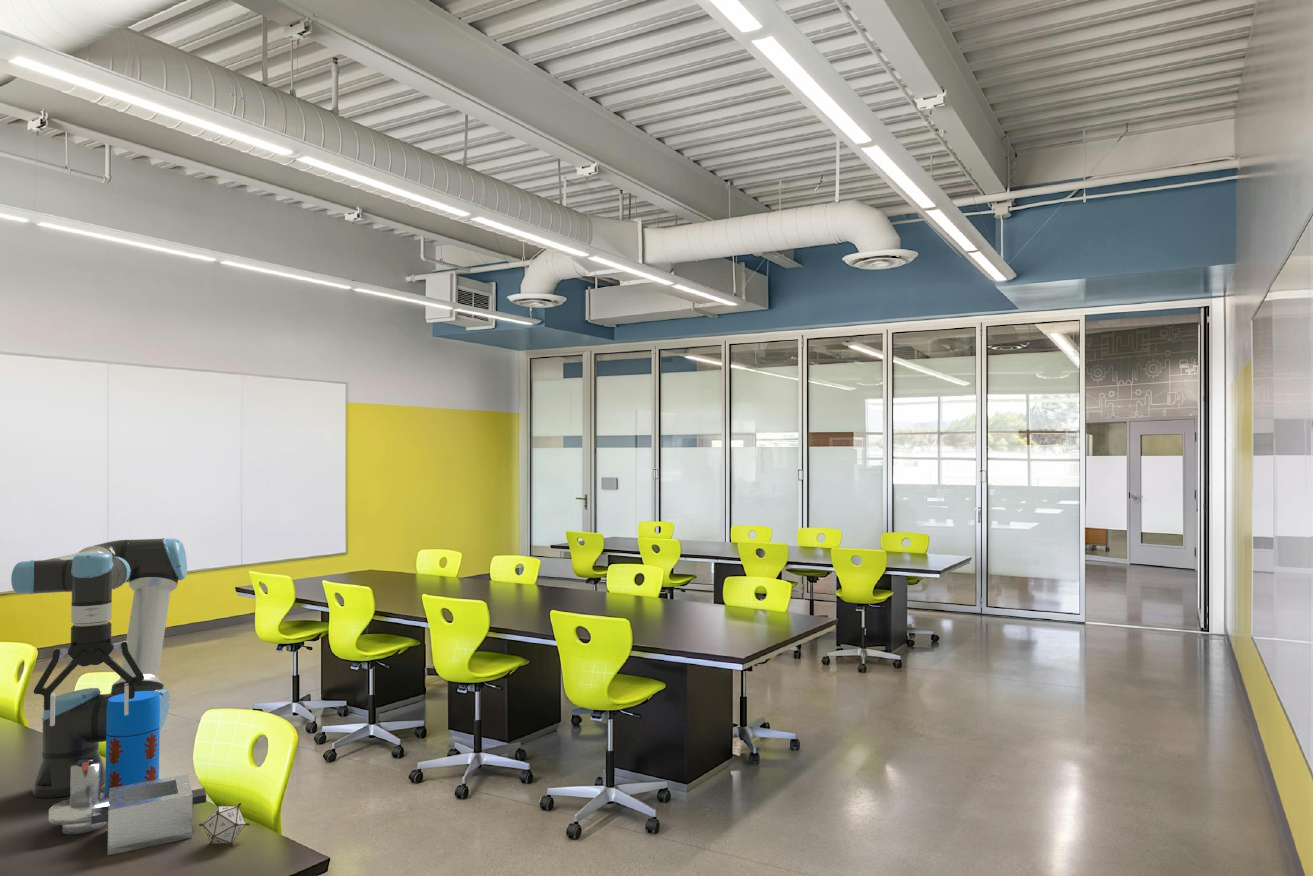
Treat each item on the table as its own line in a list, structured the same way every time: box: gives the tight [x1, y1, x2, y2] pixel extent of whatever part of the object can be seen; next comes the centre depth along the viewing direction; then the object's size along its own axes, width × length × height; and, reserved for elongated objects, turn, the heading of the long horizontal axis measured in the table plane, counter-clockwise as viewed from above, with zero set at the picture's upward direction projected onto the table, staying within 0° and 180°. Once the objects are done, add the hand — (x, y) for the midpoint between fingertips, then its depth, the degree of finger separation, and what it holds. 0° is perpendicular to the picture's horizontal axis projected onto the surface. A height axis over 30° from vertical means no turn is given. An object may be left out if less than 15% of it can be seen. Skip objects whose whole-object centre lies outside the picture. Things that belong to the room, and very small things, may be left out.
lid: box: [48, 758, 109, 835], centre depth 185 cm, size 13×13×14 cm
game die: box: [198, 802, 251, 848], centre depth 174 cm, size 9×8×10 cm
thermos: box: [104, 691, 161, 793], centre depth 198 cm, size 11×11×25 cm
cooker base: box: [91, 774, 207, 856], centre depth 180 cm, size 15×21×9 cm
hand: (90, 719), depth 185 cm, fingers open, 13 cm apart
